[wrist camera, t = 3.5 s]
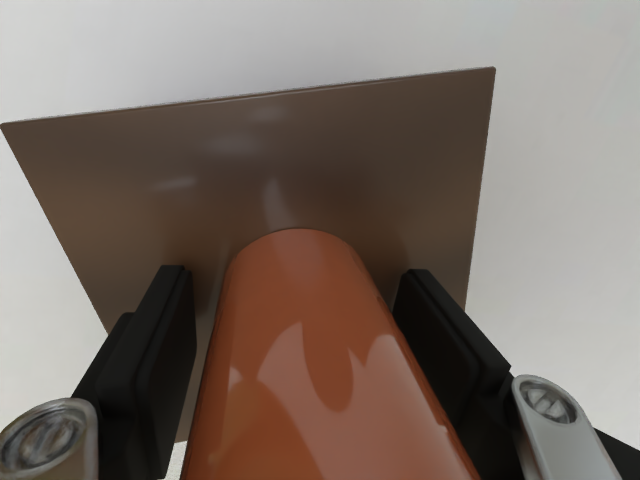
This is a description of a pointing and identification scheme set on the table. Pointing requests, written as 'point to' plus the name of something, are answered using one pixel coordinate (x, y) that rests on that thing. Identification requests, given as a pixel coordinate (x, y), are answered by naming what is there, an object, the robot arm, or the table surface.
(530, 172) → the table surface
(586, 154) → the table surface
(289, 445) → the canister
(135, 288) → the stand
